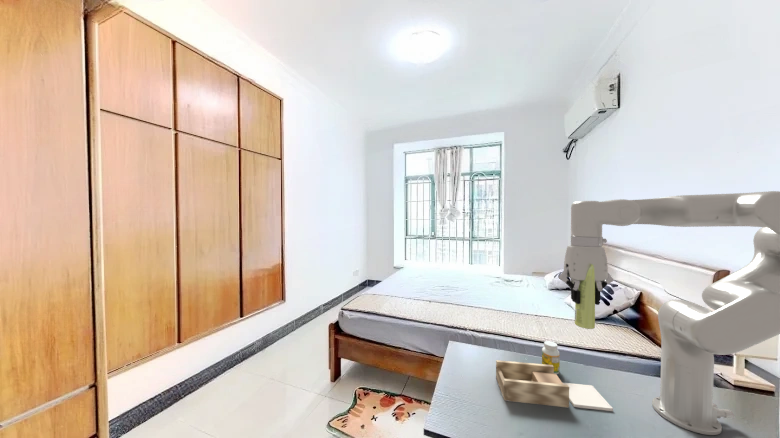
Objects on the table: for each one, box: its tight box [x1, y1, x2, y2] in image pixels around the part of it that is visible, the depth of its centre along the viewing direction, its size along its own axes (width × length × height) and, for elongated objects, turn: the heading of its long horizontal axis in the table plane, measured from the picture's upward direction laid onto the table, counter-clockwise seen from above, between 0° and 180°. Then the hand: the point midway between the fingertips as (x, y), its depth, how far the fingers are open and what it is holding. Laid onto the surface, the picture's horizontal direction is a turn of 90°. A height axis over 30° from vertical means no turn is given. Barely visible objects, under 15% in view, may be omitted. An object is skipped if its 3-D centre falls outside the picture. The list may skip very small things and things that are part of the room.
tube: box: [574, 264, 596, 330], centre depth 79 cm, size 6×5×20 cm
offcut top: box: [532, 372, 564, 384], centre depth 82 cm, size 7×6×2 cm
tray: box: [495, 359, 570, 408], centre depth 82 cm, size 18×11×6 cm, turn 80°
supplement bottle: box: [541, 340, 561, 375], centre depth 93 cm, size 5×5×10 cm
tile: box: [562, 382, 614, 412], centre depth 80 cm, size 10×10×1 cm
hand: (585, 302), depth 79 cm, fingers closed on tube, 4 cm apart
